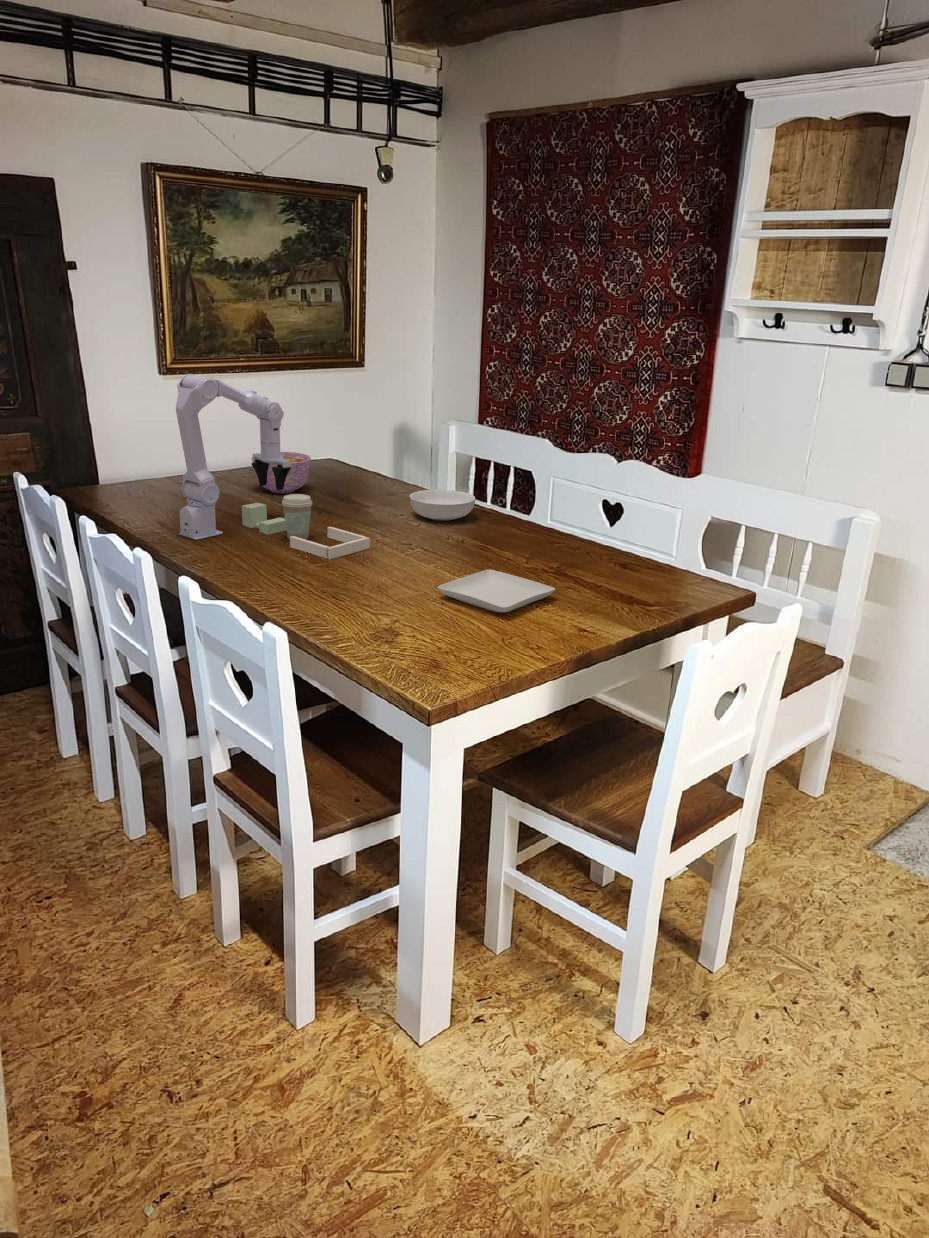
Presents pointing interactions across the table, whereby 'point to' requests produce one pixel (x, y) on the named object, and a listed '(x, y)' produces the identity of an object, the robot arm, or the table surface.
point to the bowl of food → (290, 472)
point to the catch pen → (350, 546)
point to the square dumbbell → (261, 519)
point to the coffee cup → (297, 515)
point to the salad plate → (496, 590)
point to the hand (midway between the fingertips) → (271, 487)
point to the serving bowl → (442, 504)
